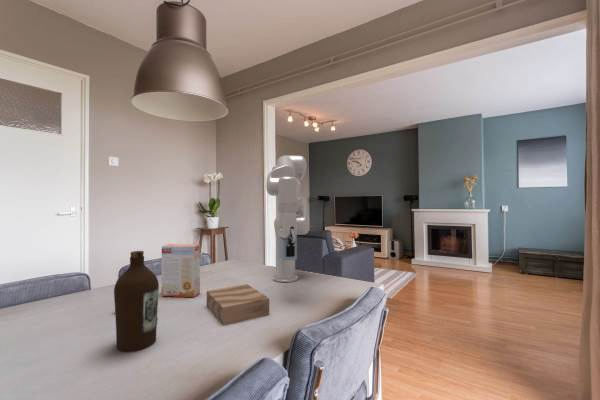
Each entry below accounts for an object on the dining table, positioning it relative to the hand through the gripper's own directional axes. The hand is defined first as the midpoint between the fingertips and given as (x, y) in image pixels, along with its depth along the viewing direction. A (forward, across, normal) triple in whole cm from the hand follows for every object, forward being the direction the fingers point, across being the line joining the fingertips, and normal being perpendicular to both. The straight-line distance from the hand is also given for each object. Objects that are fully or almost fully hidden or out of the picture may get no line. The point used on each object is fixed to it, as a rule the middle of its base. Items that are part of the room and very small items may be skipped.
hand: (287, 254), depth 112 cm
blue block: (+2, 0, 0) cm, 2 cm away
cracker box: (+18, -22, -39) cm, 49 cm away
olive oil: (+18, +18, -49) cm, 55 cm away
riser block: (+18, +3, -20) cm, 27 cm away
